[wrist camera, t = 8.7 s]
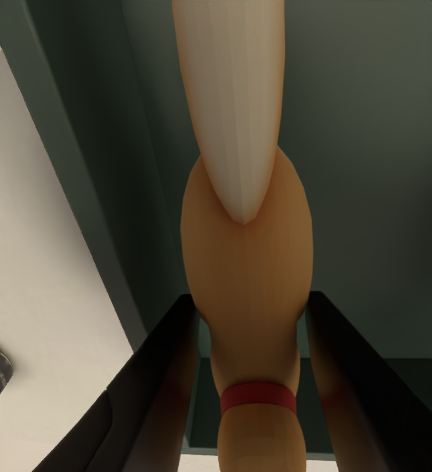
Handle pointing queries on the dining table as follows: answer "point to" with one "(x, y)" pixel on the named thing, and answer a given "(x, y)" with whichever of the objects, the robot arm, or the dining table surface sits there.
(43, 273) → the dining table surface
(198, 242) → the toy
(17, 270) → the dining table surface
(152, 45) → the green storage tray
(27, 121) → the dining table surface
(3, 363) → the pill bottle
